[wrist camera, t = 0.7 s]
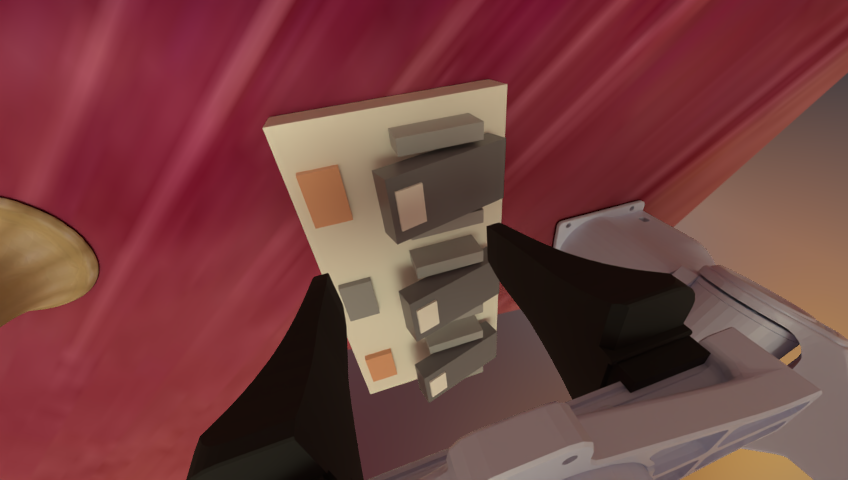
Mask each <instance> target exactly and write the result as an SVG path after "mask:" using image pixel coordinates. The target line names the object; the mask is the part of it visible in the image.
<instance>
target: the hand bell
mask: <svg viewBox="0 0 848 480" xmlns="http://www.w3.org/2000/svg"><path fill="white" fill-rule="evenodd" d="M98 273H99V269H98V261H97V259H96V256H95V254H94V253H93V251H92V249H91V248H90V247H89V245H88V244H87V243H86V242H85V241H84V239H83V238H82V237H81V236H80V235H79V234H77V233H76V232H75V231H74V230H73V229H71V228H70V227H68V226H67V225H65V224H64V223H63V222H61V221H60V220H58V219H57V218H55V217H53V216H51V215H49V214H47V213H44V212H42V211H40V210H37V209H35V208H33V207H30V206H27V205H24V204H22V203H19V202H17V201H13V200H9V199H6V198H0V327H1V326H3V325H4V324H6V323H7V322H9V321H10V320H12V319H14V318H15V317H17V316H19V315H21V314H23V313H25V312H27V311H31V310H42V309H48V308H53V307H57V306H60V305H63V304H66V303H69V302H71V301H74V300H76V299H78V298H80V297H82V296H83V295H85V294H86V293H87V292H88V291H89V290H90V289H91V288H92V287H93V285H94V284H95V282H96V280H97V277H98Z"/></svg>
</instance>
